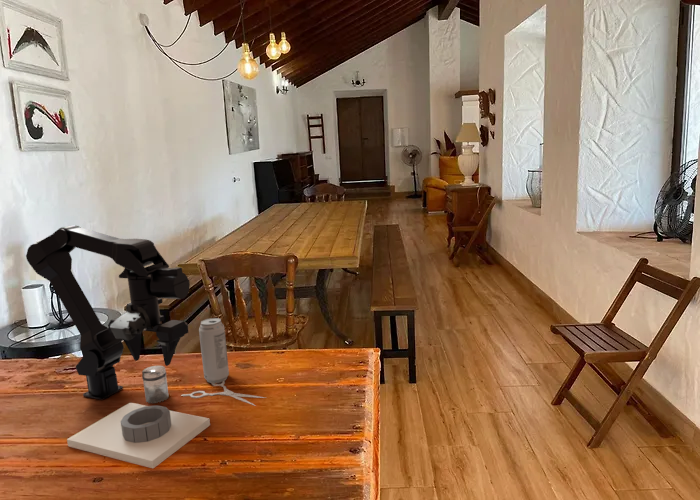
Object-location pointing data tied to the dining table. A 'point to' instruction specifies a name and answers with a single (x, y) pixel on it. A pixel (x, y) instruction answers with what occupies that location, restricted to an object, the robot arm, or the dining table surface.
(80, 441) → the plate
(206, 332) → the energy drink can
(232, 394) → the scissors
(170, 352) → the robot arm
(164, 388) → the piston
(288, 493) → the dining table surface
